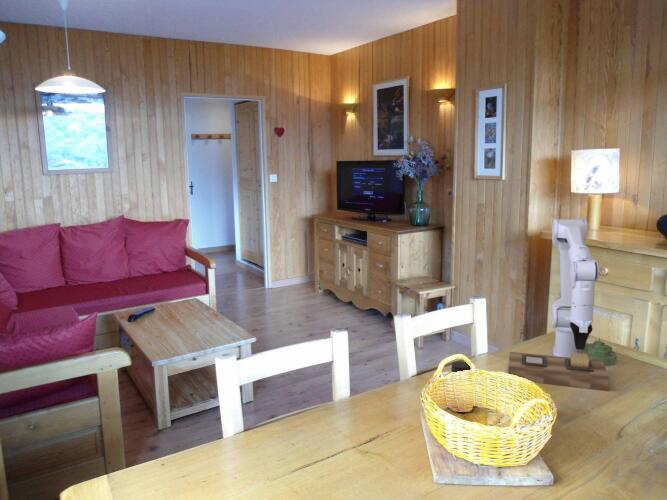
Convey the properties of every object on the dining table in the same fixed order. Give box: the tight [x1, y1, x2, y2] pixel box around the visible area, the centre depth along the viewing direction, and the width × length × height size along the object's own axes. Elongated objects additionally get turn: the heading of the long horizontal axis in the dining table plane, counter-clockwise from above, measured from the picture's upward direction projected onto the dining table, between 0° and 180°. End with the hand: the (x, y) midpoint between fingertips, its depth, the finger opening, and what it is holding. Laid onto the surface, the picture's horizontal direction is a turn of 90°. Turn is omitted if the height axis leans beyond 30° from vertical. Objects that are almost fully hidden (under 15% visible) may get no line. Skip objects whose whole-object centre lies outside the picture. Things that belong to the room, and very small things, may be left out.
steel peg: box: [526, 356, 542, 364], centre depth 155 cm, size 4×4×4 cm
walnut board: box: [507, 351, 610, 392], centre depth 153 cm, size 12×26×4 cm, turn 70°
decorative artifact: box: [580, 338, 618, 367], centre depth 164 cm, size 10×7×10 cm
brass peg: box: [569, 352, 589, 369], centre depth 150 cm, size 4×4×4 cm
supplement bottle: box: [450, 360, 472, 372], centre depth 136 cm, size 7×7×12 cm
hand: (579, 348), depth 150 cm, fingers closed
